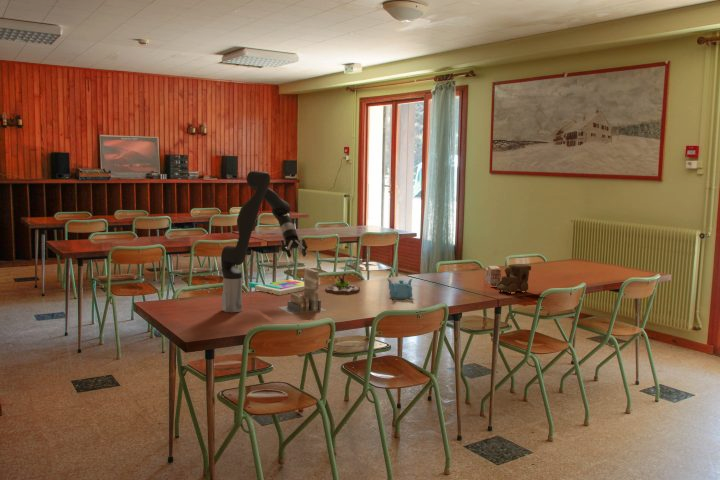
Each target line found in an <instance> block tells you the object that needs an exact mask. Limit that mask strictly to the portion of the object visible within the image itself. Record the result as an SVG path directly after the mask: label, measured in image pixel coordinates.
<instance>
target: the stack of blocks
mask: <svg viewBox="0 0 720 480" xmlns="http://www.w3.org/2000/svg"><path fill="white" fill-rule="evenodd" d="M501 279H502V269H501V267H499V266H498V265H487V267H485V268H484V281H485V280H486V281H487V282H488V283H489V284H490V285H492V286H497V284H498V283H499V282H500V281H501Z"/></svg>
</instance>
